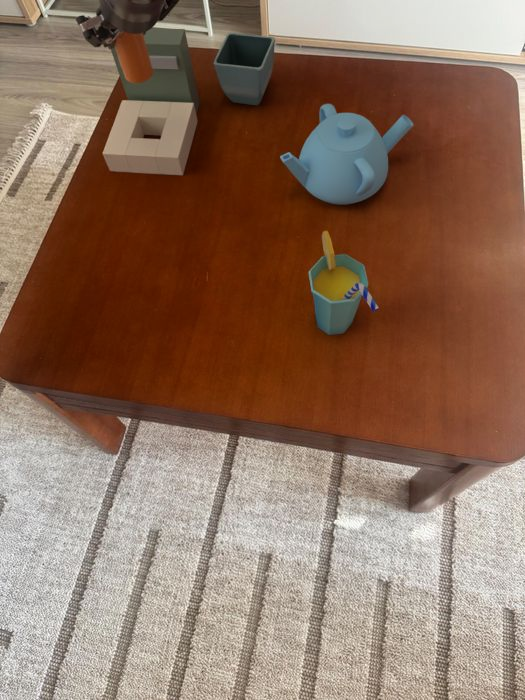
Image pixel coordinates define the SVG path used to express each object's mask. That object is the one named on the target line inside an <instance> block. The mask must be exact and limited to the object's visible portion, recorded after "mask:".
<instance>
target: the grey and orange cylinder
mask: <svg viewBox="0 0 525 700" xmlns="http://www.w3.org/2000/svg"><path fill="white" fill-rule="evenodd" d="M114 46H115V49H116V52H117V55H118V58H119V61H120V64H121V67H122V70H123V73H124V76H125V78H126V80H127V81H129V82H131V83H141V82H144V81H147V80H148V79H149V78H150V77H151V76H152V75H153V68H152V65H151V61H150V57H149V54H148V50H147V47H146V43H145V40H144V36H143V33H140V34H130V33H126V32H125V33H124V35H123V36H122V37H121V38H118V39H115V45H114Z"/></svg>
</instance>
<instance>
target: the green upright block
mask: <svg viewBox="0 0 525 700" xmlns="http://www.w3.org/2000/svg"><path fill="white" fill-rule="evenodd" d="M143 36H144V40H145V43H146V47H147V50H148V54H149V57H150V61H151V65H152V68H153V75H152V76H151V77H150V78H149V79H148V80H147V81H144V82H141V83H131V82H129V81H127V80H126V78H125V76H124V73H123V70H122V67H121V64H120V61H119V58H118V55H117V52H116V49H115V46H114V48H112V49H110V52H111V55H112V57H113V58H112V59H113V60H114V61H113V62H114V64H115V66H116V69H117V72H118V75H119V78H120V81H121V84H122V86H123V90H124V92H125V96H126V98H127V99H126V100H132V101H159V102H184V103H194V107H195V111H196V115H197V114H198V110H199V107H200V97H199V91H198V88H197V83H196V78H195V74H194V68H193V63H192V58H191V53H190V48H189V44H188V39H187V34H186V29H185V28H156V27H155V28H154V27H152V28H151V29H150V30H148V31H146V34H145V35H143Z"/></svg>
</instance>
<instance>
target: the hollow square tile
mask: <svg viewBox="0 0 525 700" xmlns="http://www.w3.org/2000/svg"><path fill="white" fill-rule="evenodd" d="M198 122H199V121H198V115H197V114H196V111H195V107H194V103H184V102H159V101H132V100H128V99H124V100H123V99H122V100H121V102H120V105H119V108H118V110H117V113H116V116H115V119H114V122H113V123H112V124H113V125H112V127H111V130H110V132H109V135H108V138H107V141H106V143H105V146H104V149H103V151H102V156H103V158H104V161H105V163H106V165H107V168H108V170H109V172H116V173H133V174H134V173H135V174H151V175H167V176H169V175H170V176H184V173H185V170H186V166H187V162H188V159H189V155H190V151H191V147H192V144H193V140H194V136H195V133H196V130H197V125H198ZM145 136H160V138H144V137H145Z"/></svg>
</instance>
